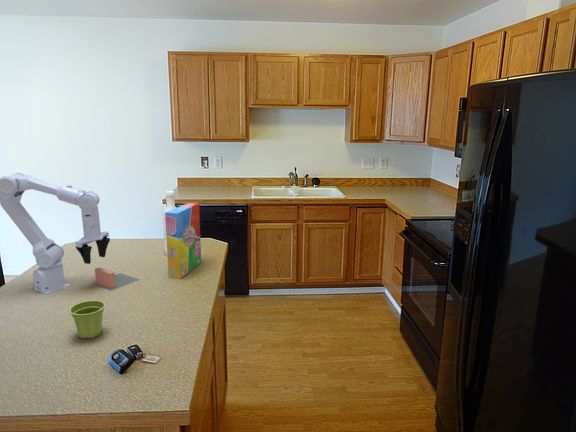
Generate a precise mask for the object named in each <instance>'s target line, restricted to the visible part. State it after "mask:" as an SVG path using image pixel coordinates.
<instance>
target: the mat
mask: <svg viewBox="0 0 576 432" xmlns="http://www.w3.org/2000/svg"><path fill="white" fill-rule="evenodd" d="M139 280H140V281H141V279H140V278H136V277H134V276H131V275H127V274H124V273H121V272H120V273H118V274H115V283H116V287H115V288H112V289H110V288H107V287H104V286H102V285H99V284H96V281H95V282H93V283H91V285H93V286H95V287H98V288H101V289H104V290H107V291H110V292H112V291H115V290H116V289H119V288H122V287H125V286H128V285H130V284H132V283H134V282H137V281H139Z"/></svg>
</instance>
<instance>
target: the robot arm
mask: <svg viewBox="0 0 576 432" xmlns="http://www.w3.org/2000/svg"><path fill="white" fill-rule="evenodd" d="M29 190H34V191H38V192H42V193H45V194H49V195H54V196H56V198H57V199H58V201H61V202H65V203H67V204H71V205H74V206H78V208H79V209H80V210H81V219H82V220H81V221H82V230H83V237H82V238H80V239H78V240H76V241H75V249H76V251H78V253H79V254H80V256H81V258H82V261H83V263H84V264H87V265H90V264H91V263H92V262H91V260H92V259H91V257H92V255H91V253H92V248H93V246H91V245H90V246H89V245H88V244H91V243H94V242H95V243H96V247H97V253H98V256H99V258H105V257H106V256H107V255H106V254H107V249H108V246H109V243H110V241H111V239H110V232H109V231H105V230H104V231H102V230H101V221H100V212H99V206H98V205H99V203H100V196H99V195H98V193H96V192H95V191H91V190H89V191H87V190H86V189H82V190H81V189H79V188H75V187H73V185H72V184H67V185H66V184H64V185H62V186H57V185H55V184H53V183H50V182H48V181H45V180H41V179H39V178H36V177H33V176H32V175H28V174H24V173H21V172H16V173H13V174H10V175H8V176H7V175H5V176H1V177H0V206H1V208H2V209H3V210H4V212H6V214H7V216H9V218H10V220H11V221H12V222H13V223H14V224H15V225H16V227H17V228H18V229H19V231H20V232H21V234H23V236H24V237H25V238H26V240H27V241H28V242H29V244H30V245H31V246H32V255H33V256H34V258H35V262H36V264H37V265H38V266H39V267H38V268H36V269H34V270H33V272H32V278H33V285H34V289H33V290H34V291H36V292H39V293H41V294H42V295H48V294H51V293H54V292H56V291H59V290H62V289H65V288H68V287H70V286H71V284H70V283H67V282H66V281H65V280H66V279H65V274H64V273H65V272H64V264H63V260H62V258H63V257H64V256H65V251H64V248H63V247H62V246H60V245H59V244H57V243H56V242H55V241H54V240H53V239H50V238H48V237H47V236H46V235H45V233H44V231H43V230H42V229H41V227H39V225H38V224H37V222H36V221H35V220H34V218H33V217H32V216H31V214H30V213H29V212H28V211H27V210H26V208H25V207H24V205H23V204H22V203H21V200H22V196H23V195H24V192H25V191H29Z"/></svg>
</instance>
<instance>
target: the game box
mask: <svg viewBox="0 0 576 432" xmlns="http://www.w3.org/2000/svg"><path fill="white" fill-rule="evenodd" d="M200 218H201V217H200V203H199V202H186V203H184V204H182V205H180V206H177V208H175V209H173V210H170V211H168V212H165V220H166V236H167V255H168V256H167V255H166V256H167V271H168V272H167V274H168V278H169V279H179V280H180V279H181V280H182V278H184V276H186V275H187V274H188V273H190V272H191V271H192V270H193V269H195V268H196V267H197V266H199V264H201V263H202V254H201V253H202V251H201V250H202V249H201V248H202V247H201V244H202V243H201V220H200Z"/></svg>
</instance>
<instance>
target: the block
mask: <svg viewBox="0 0 576 432" xmlns="http://www.w3.org/2000/svg"><path fill="white" fill-rule="evenodd" d="M94 274H95V276H94V277H95V282H96V284H99V285H102V286H104V287H107V288H110V289H112V288H115V287H116V283H115V275H116V273H115V271H112V270H109V269H106V268H103V267H97V268H94Z"/></svg>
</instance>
